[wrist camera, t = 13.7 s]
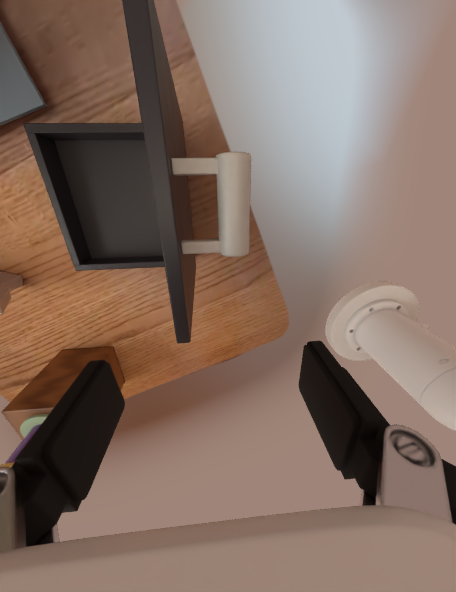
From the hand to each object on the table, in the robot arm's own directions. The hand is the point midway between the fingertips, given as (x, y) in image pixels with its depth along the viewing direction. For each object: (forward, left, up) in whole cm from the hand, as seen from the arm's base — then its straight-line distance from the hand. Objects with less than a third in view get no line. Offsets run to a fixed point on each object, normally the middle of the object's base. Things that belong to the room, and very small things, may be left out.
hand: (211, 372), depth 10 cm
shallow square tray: (+10, -7, -24) cm, 27 cm away
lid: (+3, -7, -12) cm, 14 cm away
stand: (+23, +21, -24) cm, 39 cm away
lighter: (+29, +3, -24) cm, 38 cm away
